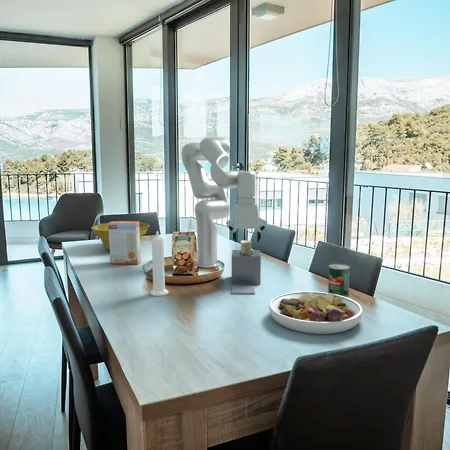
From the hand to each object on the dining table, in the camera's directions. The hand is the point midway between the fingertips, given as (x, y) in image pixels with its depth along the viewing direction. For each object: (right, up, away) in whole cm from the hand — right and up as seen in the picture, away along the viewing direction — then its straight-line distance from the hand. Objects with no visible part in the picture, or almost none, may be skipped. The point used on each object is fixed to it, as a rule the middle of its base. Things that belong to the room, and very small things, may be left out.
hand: (246, 241), depth 192 cm
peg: (0, -10, +2) cm, 10 cm away
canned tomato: (+35, -20, -15) cm, 43 cm away
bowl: (+21, -25, -41) cm, 52 cm away
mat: (-2, -19, -11) cm, 22 cm away
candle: (-35, -20, -14) cm, 43 cm away
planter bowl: (-68, -7, +66) cm, 95 cm away
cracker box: (-59, -12, +34) cm, 69 cm away
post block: (0, -17, +3) cm, 17 cm away
